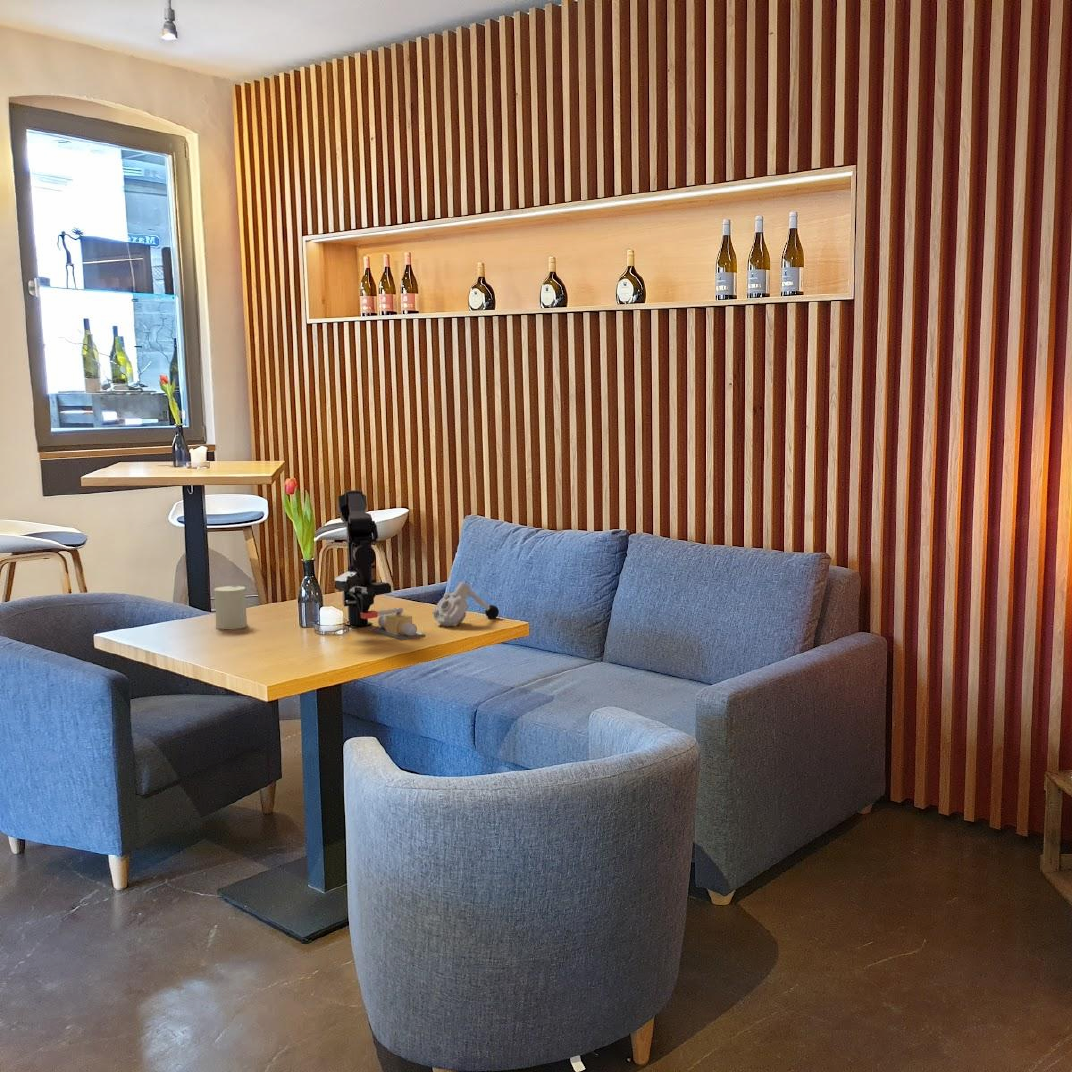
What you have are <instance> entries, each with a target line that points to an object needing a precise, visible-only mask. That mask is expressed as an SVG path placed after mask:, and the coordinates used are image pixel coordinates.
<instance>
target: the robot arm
mask: <svg viewBox="0 0 1072 1072" xmlns="http://www.w3.org/2000/svg"><path fill="white" fill-rule="evenodd" d="M367 499H368V498H367V495H366V494H364V493H363V491H362V490H359V489H356V490H354V489H353V490H347V491H344V493H343V494H341V495H339V496H338V497H337V501H336V502H337V503H336V504H337V505H336V506H337V512H338V513H339V515H340V516H339V517H340V520H341V521H342V523H343V524H344V526H345V528H346V541H347V557H348V558H347V559H348V567H347V572H344V573H342V574H340V575H339V576H337V577H335V579H334V582H333V583H334V589H335V590H337V591H342V598H341V599H342V605H343V608H344V607H347V618H348V619H347V620H349V622H350V626H349V627H351V628H359V627H365V626H371V625H373V623H372V622H370V621H369V619H363V618H361V612H366V611H370V608H371V606H373V605H374V604H375V601H374V599H375V598H376V596H381V595H385V594H387V595H388V594H390V593H391V594H392V592H393V591H392V585H391V584H390V582H385V581H384V582H383V581H378V582H377V579H376V578H374V577H373V575H374V574H373V570H374V569H376V564H374V563H375V561H376V557H377V554H376V550H375V549H374V548H373V547H372V543H377V541H378V538H379V534H378V533H379V532H378V528H377V527H378V525H377V523H376V521H375V520H373V518H372V515H371V513H368V512H367V509H368V502H367Z"/></svg>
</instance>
